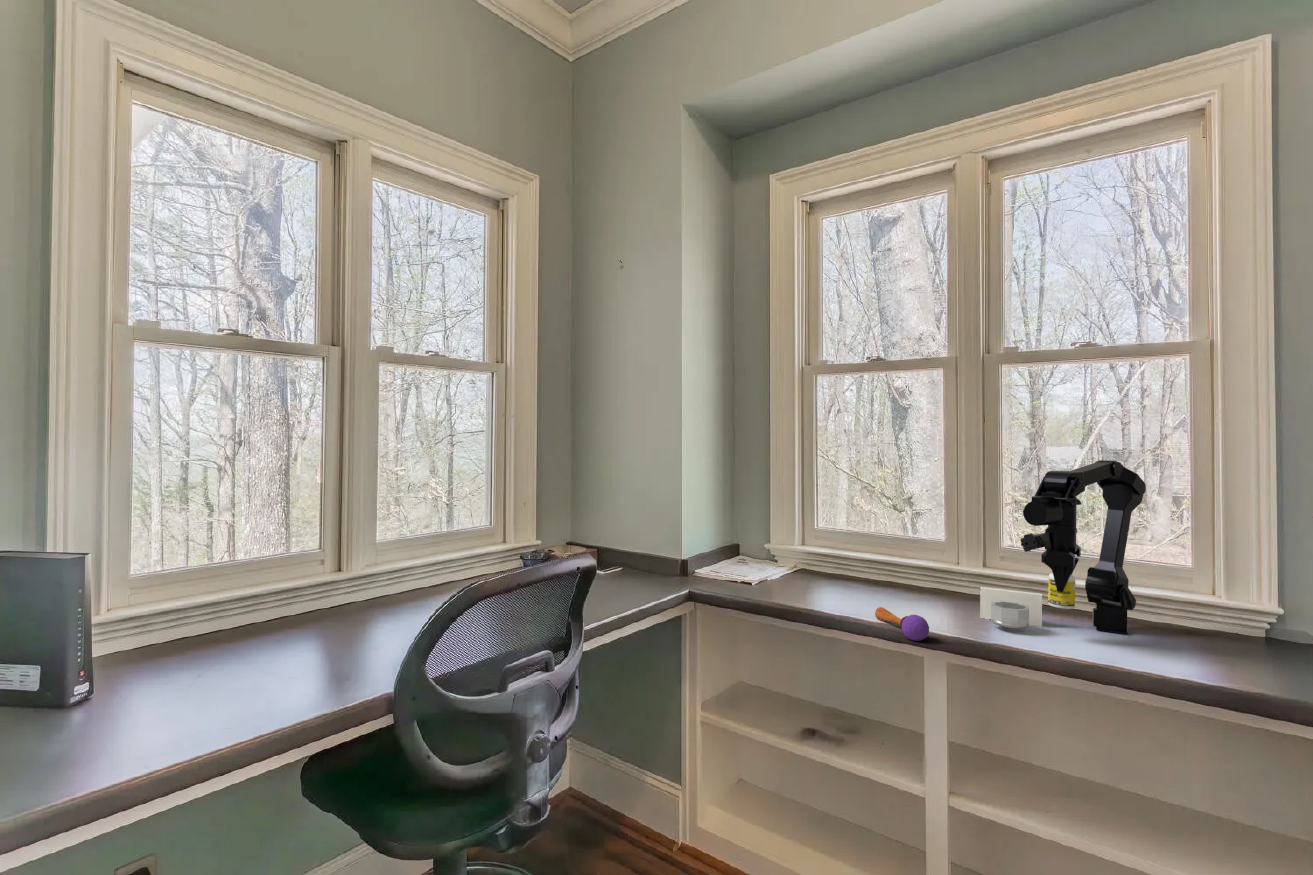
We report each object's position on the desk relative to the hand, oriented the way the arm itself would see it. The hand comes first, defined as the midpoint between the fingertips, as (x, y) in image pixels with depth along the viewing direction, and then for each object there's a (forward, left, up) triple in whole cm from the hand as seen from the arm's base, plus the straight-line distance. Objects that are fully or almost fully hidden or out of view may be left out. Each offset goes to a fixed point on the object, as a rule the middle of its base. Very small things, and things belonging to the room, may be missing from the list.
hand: (1061, 589), depth 148 cm
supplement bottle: (0, 0, -4) cm, 4 cm away
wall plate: (+11, -11, -12) cm, 19 cm away
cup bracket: (+11, -4, -11) cm, 16 cm away
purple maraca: (+34, +13, -12) cm, 39 cm away
